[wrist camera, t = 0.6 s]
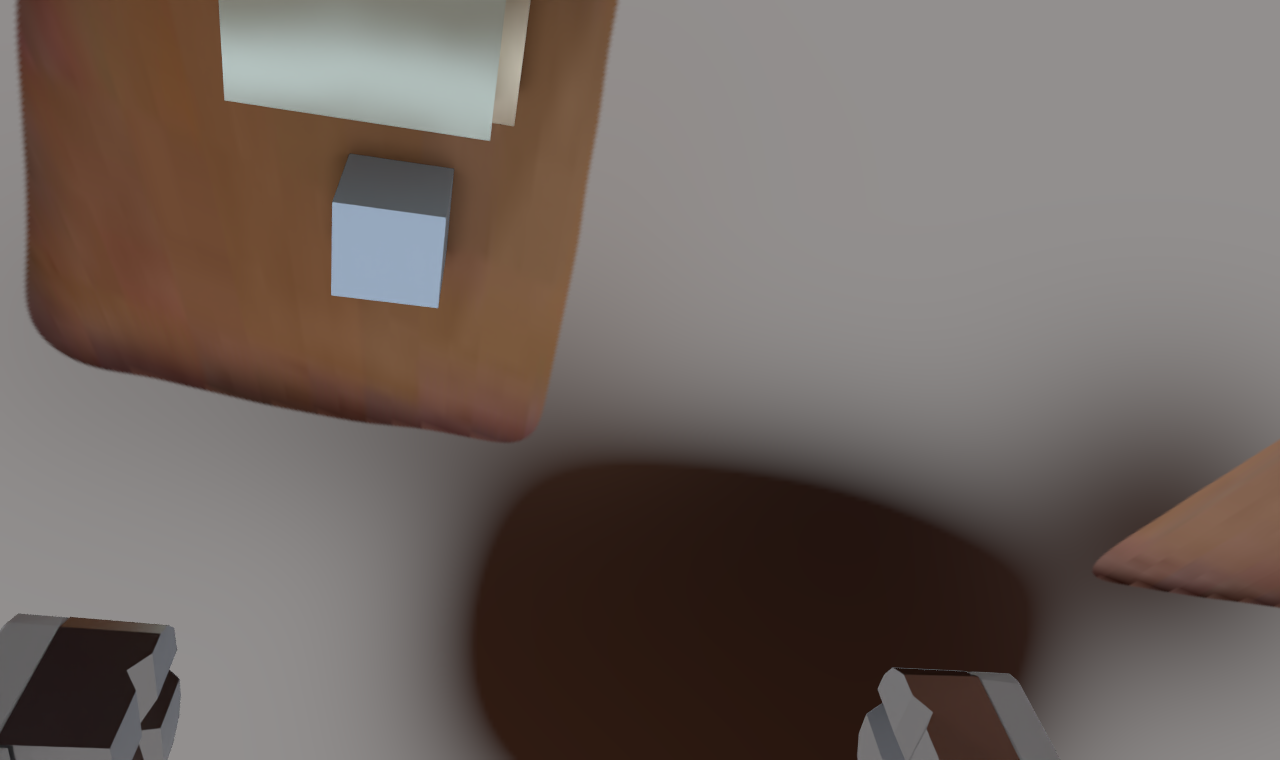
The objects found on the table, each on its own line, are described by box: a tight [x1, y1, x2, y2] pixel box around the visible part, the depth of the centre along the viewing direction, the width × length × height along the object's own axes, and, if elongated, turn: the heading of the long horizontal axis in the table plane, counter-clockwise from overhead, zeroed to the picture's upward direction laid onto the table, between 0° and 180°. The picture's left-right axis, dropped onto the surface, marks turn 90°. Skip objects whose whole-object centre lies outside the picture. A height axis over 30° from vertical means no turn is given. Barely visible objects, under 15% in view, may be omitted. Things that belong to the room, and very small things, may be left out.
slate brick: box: [331, 154, 454, 308], centre depth 47 cm, size 5×5×5 cm
